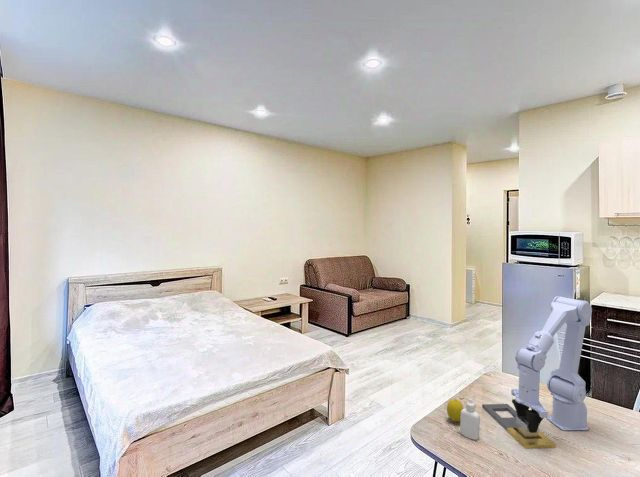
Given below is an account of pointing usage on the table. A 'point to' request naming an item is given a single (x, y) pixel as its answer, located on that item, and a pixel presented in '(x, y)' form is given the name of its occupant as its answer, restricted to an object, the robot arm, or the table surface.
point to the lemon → (454, 409)
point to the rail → (510, 427)
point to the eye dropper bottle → (470, 421)
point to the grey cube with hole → (525, 428)
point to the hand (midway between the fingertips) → (527, 427)
